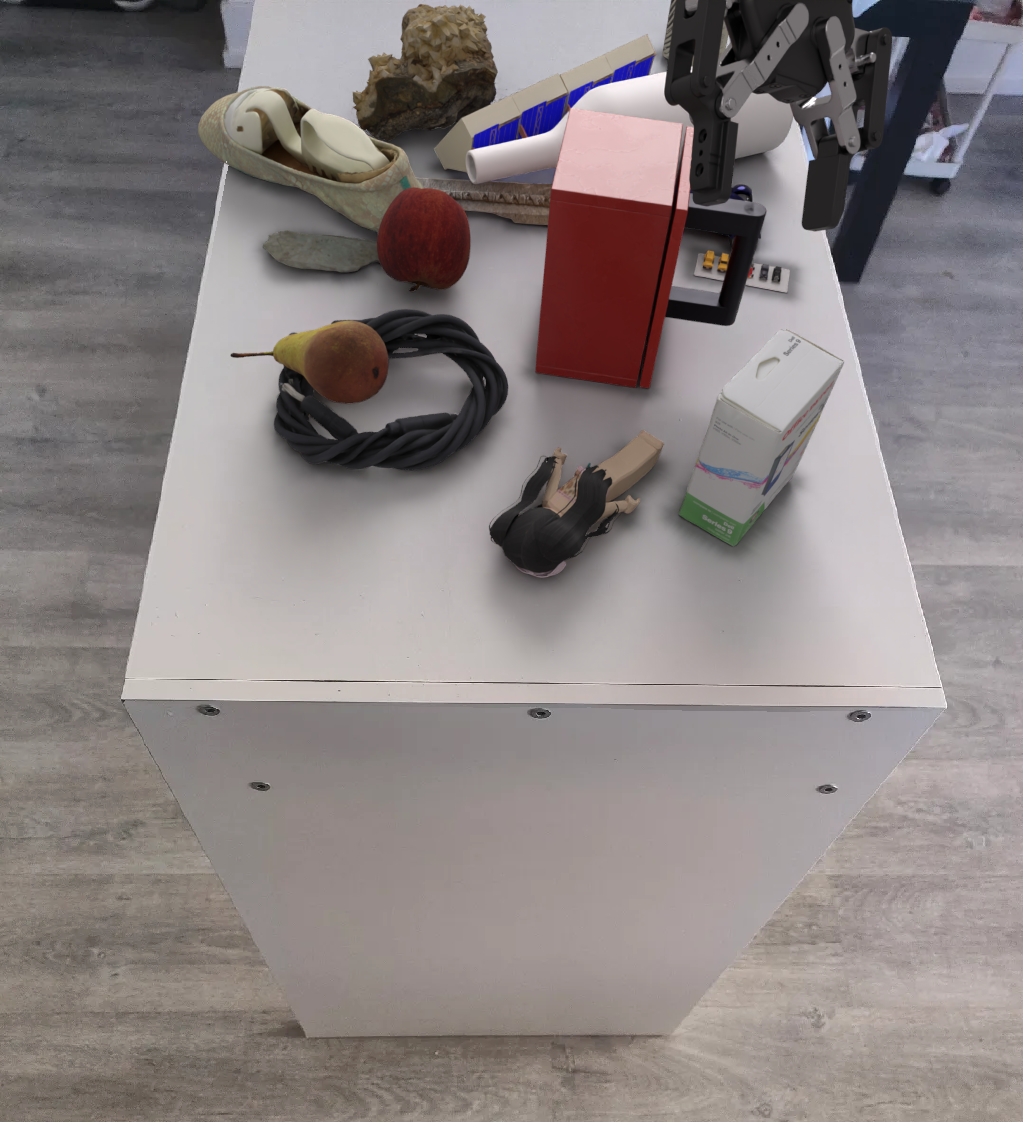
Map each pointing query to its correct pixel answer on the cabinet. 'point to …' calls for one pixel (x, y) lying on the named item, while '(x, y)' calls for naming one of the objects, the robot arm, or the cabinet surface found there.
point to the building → (542, 103)
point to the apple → (424, 239)
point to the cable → (404, 438)
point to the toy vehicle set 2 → (757, 276)
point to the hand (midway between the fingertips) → (767, 216)
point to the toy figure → (571, 507)
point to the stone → (321, 251)
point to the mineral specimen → (429, 74)
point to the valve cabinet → (605, 244)
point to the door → (670, 299)
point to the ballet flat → (307, 152)
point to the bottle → (637, 97)
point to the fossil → (498, 198)
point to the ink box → (758, 434)
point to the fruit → (335, 360)
